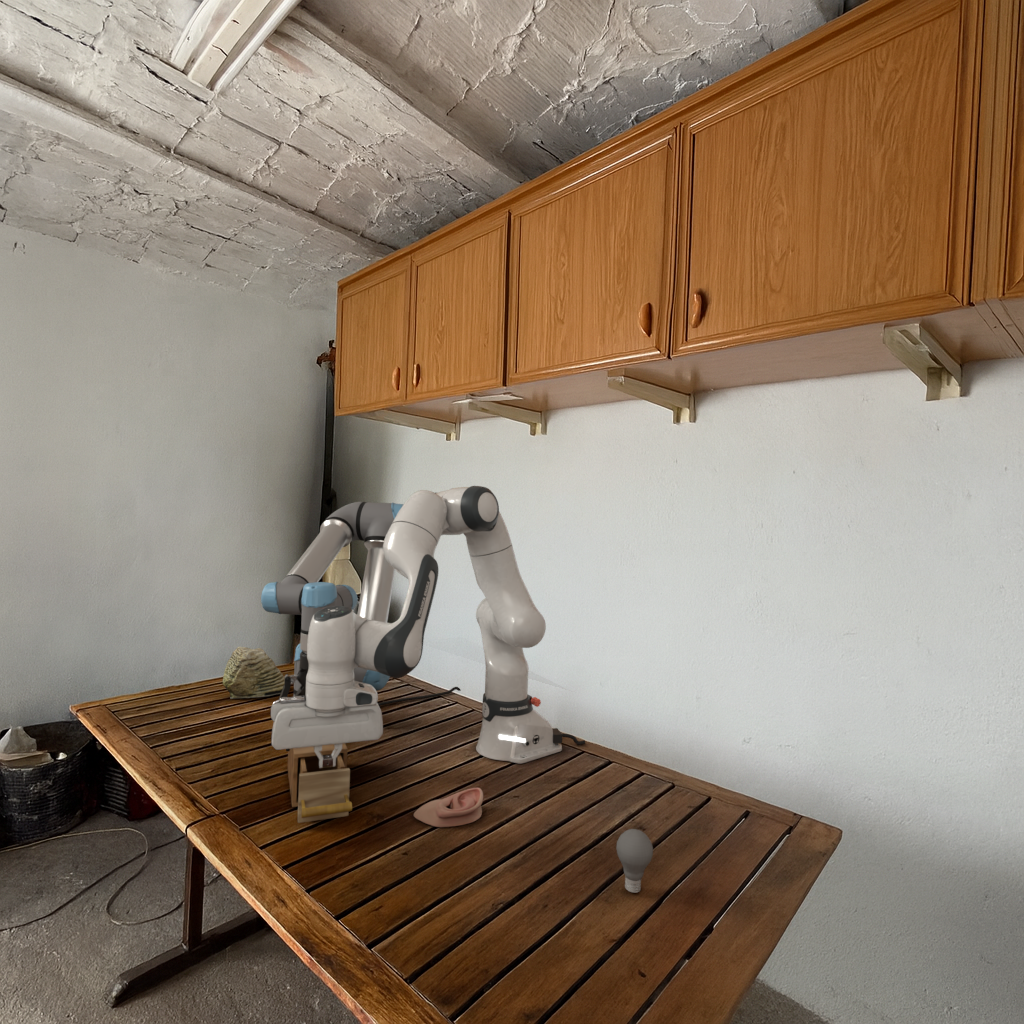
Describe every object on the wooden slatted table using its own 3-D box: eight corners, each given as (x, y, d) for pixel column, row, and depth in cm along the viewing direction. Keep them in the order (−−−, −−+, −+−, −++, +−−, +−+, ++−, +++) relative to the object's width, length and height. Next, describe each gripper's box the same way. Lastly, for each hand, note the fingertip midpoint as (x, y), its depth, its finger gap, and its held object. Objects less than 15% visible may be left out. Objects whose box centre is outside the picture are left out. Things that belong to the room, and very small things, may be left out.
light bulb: (610, 879, 108) (613, 822, 108) (644, 879, 109) (647, 822, 109) (619, 902, 102) (622, 840, 102) (655, 901, 103) (658, 840, 103)
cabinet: (345, 800, 132) (347, 748, 132) (292, 807, 129) (293, 754, 128) (334, 763, 151) (336, 718, 151) (287, 768, 147) (289, 722, 147)
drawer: (352, 829, 119) (354, 782, 119) (299, 837, 116) (301, 788, 115) (337, 776, 141) (338, 736, 141) (292, 782, 138) (294, 741, 138)
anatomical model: (408, 802, 124) (427, 778, 135) (407, 822, 124) (427, 796, 136) (473, 812, 122) (488, 786, 133) (473, 832, 122) (487, 805, 133)
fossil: (218, 695, 195) (220, 647, 195) (278, 685, 208) (279, 640, 207) (228, 703, 189) (230, 653, 188) (289, 692, 201) (290, 645, 201)
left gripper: (263, 657, 137) (259, 758, 138) (371, 652, 146) (367, 747, 146) (262, 649, 144) (259, 745, 144) (365, 644, 153) (362, 735, 153)
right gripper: (271, 703, 113) (268, 780, 113) (386, 694, 121) (383, 766, 121) (270, 692, 119) (268, 766, 119) (380, 685, 126) (377, 753, 127)
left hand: (313, 746), depth 145 cm, fingers closed on cabinet, 11 cm apart
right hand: (327, 766), depth 120 cm, fingers closed
